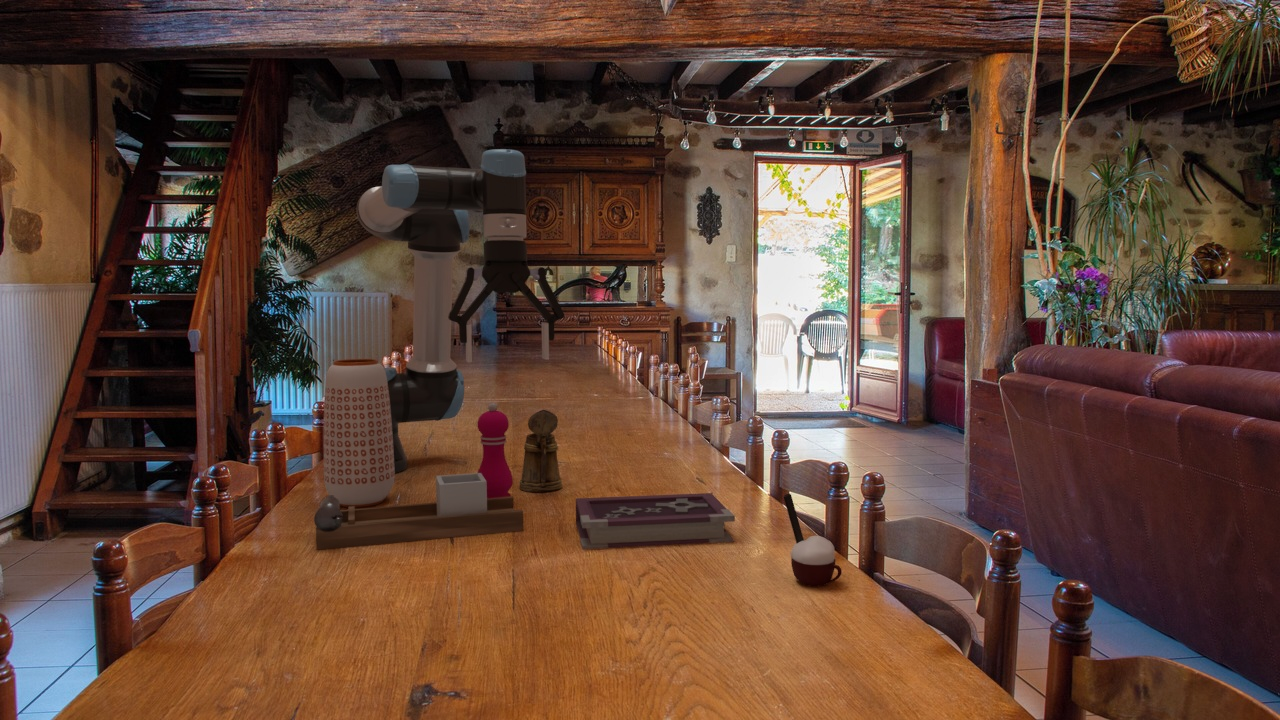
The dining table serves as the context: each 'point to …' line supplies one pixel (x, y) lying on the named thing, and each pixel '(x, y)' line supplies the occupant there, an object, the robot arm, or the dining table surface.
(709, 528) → the book
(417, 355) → the robot arm
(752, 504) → the dining table surface
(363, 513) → the bay
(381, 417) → the planter
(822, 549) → the cocoa
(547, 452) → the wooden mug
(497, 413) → the pepper mill
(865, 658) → the dining table surface
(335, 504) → the dark grey rounded lump
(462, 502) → the box
